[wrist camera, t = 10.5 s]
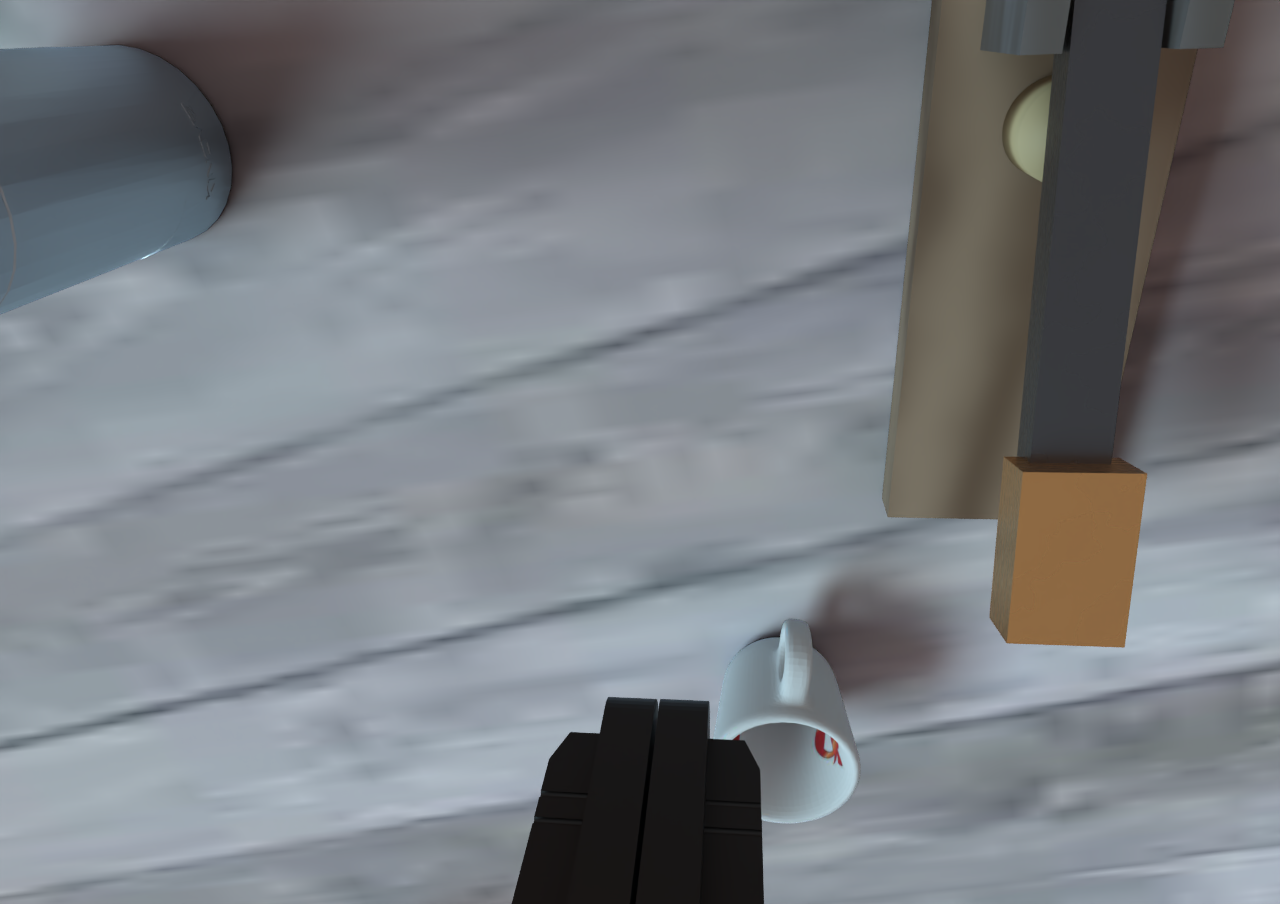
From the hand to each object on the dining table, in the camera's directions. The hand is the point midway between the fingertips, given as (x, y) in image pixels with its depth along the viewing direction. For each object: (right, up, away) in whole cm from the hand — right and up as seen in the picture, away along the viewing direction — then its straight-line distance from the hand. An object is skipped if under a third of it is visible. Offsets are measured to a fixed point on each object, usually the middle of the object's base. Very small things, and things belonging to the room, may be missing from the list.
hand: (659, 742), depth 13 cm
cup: (+8, -8, +39) cm, 41 cm away
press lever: (+17, +9, +21) cm, 28 cm away
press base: (+17, +13, +27) cm, 35 cm away
